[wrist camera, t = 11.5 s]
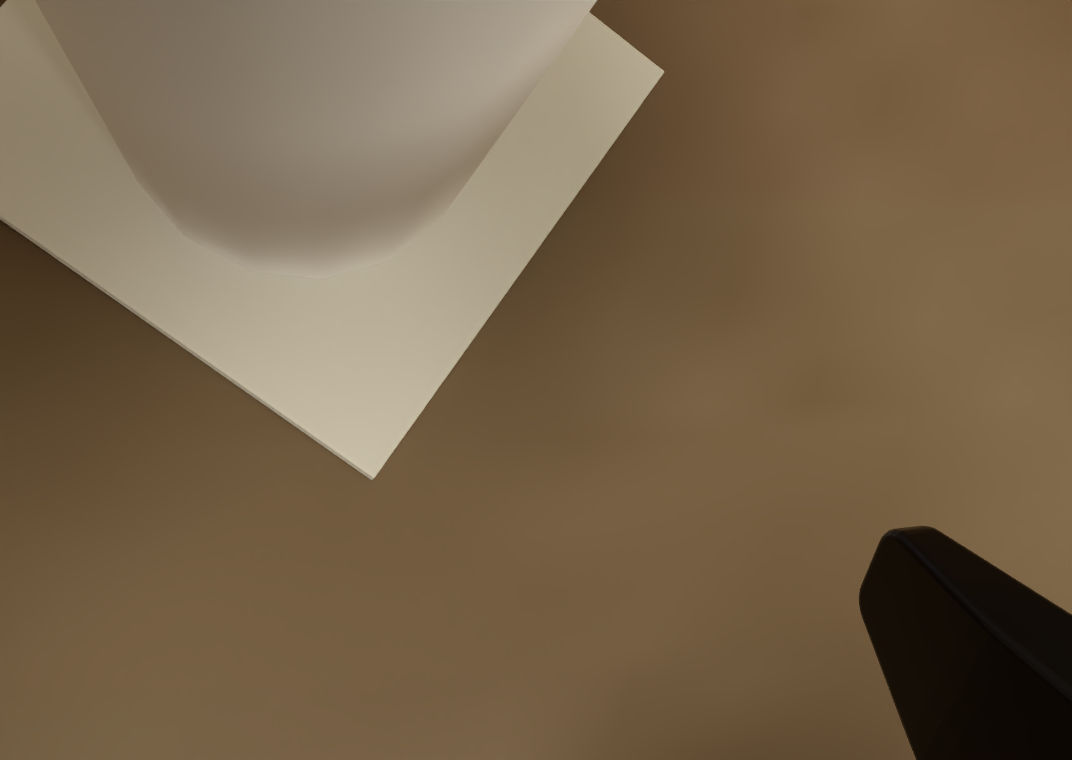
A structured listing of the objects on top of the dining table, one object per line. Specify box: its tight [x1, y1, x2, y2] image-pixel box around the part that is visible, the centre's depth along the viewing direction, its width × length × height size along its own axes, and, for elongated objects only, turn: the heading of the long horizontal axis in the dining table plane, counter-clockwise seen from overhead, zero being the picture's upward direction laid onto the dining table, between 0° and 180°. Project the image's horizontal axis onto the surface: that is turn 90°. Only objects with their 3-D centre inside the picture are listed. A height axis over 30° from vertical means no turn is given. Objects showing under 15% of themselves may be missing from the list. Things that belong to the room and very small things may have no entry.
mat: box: [0, 0, 664, 480], centre depth 17 cm, size 9×9×1 cm
